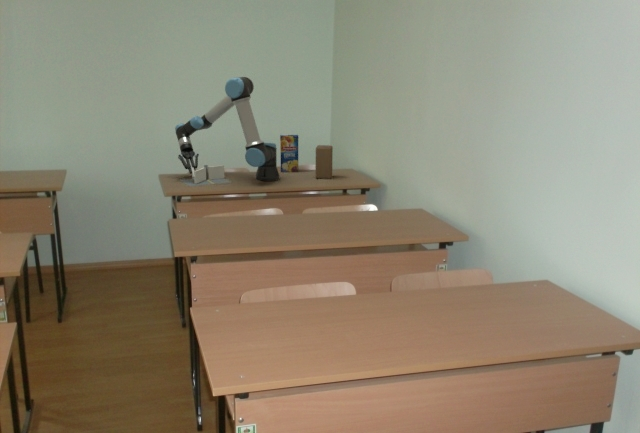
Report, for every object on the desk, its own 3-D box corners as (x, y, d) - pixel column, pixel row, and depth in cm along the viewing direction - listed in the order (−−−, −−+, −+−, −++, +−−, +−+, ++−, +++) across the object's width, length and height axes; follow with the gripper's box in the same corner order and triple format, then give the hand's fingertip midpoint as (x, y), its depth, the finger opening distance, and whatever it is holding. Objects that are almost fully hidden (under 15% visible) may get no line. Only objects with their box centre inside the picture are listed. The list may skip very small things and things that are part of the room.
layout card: (220, 177, 401) (220, 176, 401) (232, 183, 382) (232, 182, 382) (178, 180, 389) (178, 179, 389) (188, 187, 370) (188, 186, 370)
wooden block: (332, 176, 407) (332, 145, 402) (331, 178, 397) (331, 147, 392) (317, 175, 408) (317, 145, 403) (315, 178, 398) (315, 147, 393)
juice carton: (298, 170, 427) (298, 134, 421) (298, 172, 420) (298, 136, 414) (280, 170, 426) (280, 134, 420) (280, 172, 419) (280, 136, 413)
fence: (223, 177, 396) (223, 163, 394) (224, 178, 394) (224, 164, 392) (204, 179, 390) (203, 165, 388) (205, 180, 389) (204, 165, 386)
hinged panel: (204, 179, 389) (203, 167, 387) (206, 179, 388) (205, 167, 386) (194, 183, 377) (194, 171, 375) (196, 183, 376) (195, 171, 374)
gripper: (195, 149, 394) (203, 180, 384) (174, 150, 389) (182, 181, 379) (197, 141, 388) (206, 173, 378) (176, 143, 383) (184, 174, 373)
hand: (194, 177), depth 379 cm, fingers closed
